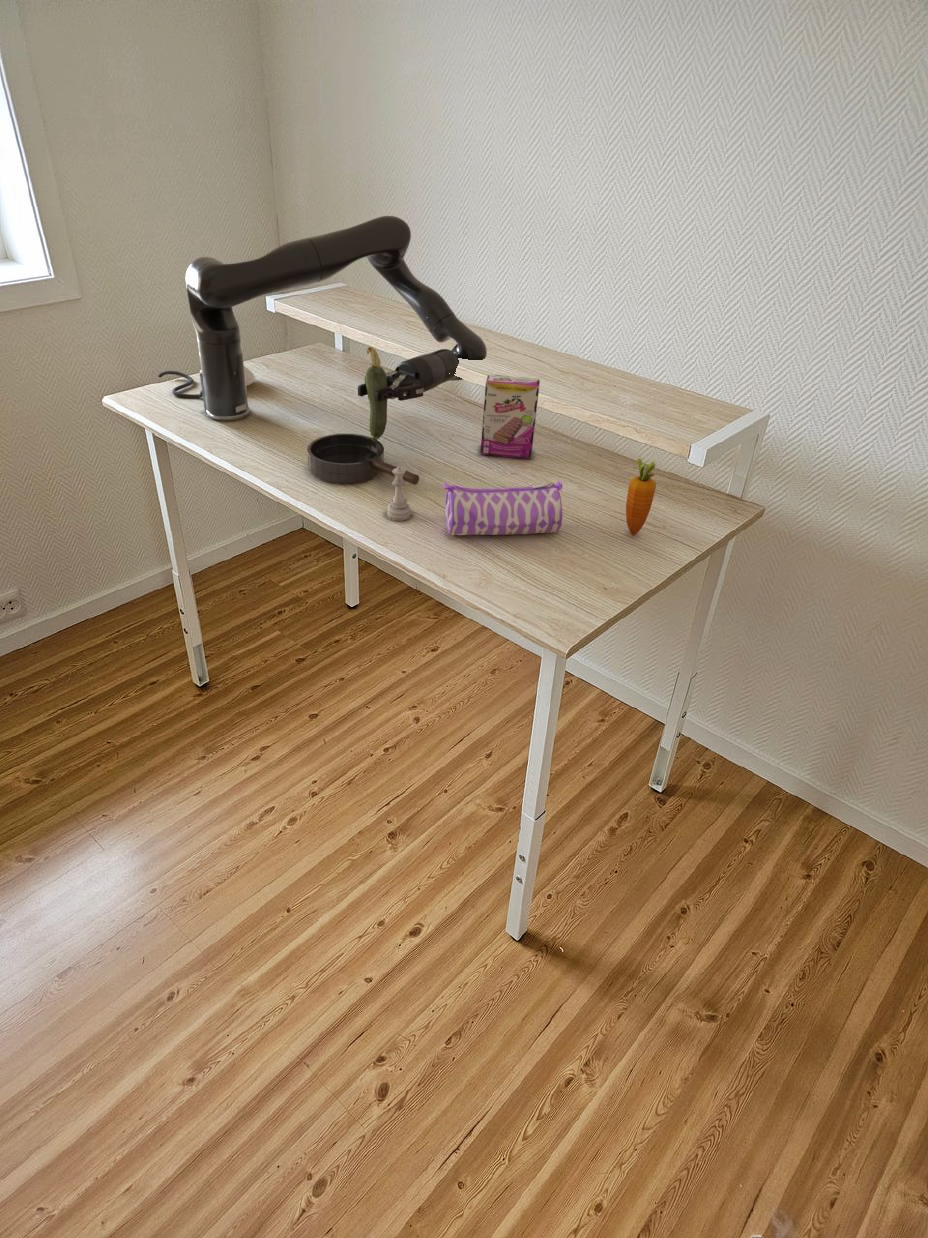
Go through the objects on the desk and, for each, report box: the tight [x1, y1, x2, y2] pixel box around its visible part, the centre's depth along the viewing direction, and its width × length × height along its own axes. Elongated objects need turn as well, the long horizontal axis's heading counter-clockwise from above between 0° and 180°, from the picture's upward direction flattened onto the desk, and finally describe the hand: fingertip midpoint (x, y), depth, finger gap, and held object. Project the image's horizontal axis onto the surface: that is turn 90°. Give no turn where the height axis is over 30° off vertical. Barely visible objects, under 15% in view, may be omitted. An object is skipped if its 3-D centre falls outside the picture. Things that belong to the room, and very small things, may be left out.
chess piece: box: [386, 465, 412, 522], centre depth 152 cm, size 4×4×10 cm
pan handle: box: [371, 459, 420, 486], centre depth 162 cm, size 11×2×2 cm, turn 53°
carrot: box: [625, 457, 657, 536], centre depth 148 cm, size 5×5×15 cm
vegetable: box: [364, 346, 388, 440], centre depth 172 cm, size 4×4×20 cm
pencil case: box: [442, 480, 563, 536], centre depth 149 cm, size 22×9×10 cm, turn 102°
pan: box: [306, 432, 385, 485], centre depth 169 cm, size 15×15×4 cm
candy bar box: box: [480, 373, 541, 460], centre depth 175 cm, size 11×5×16 cm, turn 84°
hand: (368, 394), depth 170 cm, fingers closed on vegetable, 4 cm apart
